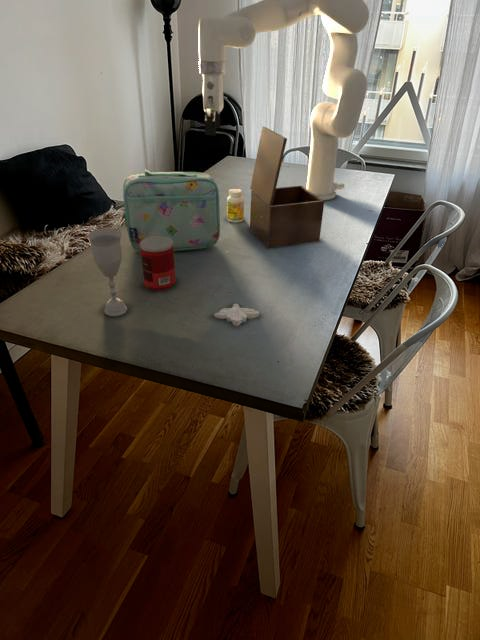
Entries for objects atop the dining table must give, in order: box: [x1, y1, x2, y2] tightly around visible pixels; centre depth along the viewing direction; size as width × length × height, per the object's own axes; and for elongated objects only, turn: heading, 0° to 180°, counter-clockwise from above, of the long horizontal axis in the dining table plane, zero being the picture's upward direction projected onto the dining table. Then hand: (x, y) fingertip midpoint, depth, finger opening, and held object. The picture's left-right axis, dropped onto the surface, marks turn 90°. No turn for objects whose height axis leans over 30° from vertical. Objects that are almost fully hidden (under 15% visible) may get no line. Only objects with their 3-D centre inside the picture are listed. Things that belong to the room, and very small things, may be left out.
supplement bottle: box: [226, 188, 245, 223], centre depth 149 cm, size 5×5×10 cm
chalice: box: [87, 228, 128, 317], centre depth 100 cm, size 7×7×18 cm
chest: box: [249, 185, 325, 249], centre depth 139 cm, size 17×15×12 cm
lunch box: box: [120, 169, 221, 253], centre depth 128 cm, size 27×10×21 cm, turn 102°
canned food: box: [139, 236, 177, 291], centre depth 113 cm, size 8×8×11 cm
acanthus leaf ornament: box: [213, 303, 260, 327], centre depth 103 cm, size 8×7×2 cm
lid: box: [249, 126, 288, 205], centre depth 128 cm, size 18×15×1 cm
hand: (212, 131), depth 143 cm, fingers open, 9 cm apart
